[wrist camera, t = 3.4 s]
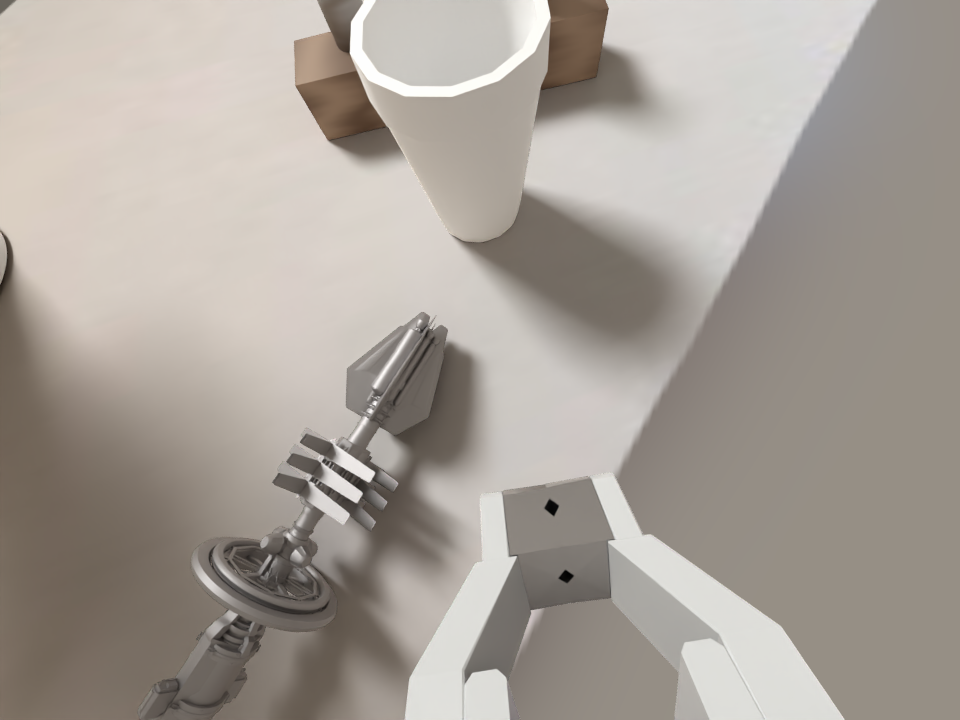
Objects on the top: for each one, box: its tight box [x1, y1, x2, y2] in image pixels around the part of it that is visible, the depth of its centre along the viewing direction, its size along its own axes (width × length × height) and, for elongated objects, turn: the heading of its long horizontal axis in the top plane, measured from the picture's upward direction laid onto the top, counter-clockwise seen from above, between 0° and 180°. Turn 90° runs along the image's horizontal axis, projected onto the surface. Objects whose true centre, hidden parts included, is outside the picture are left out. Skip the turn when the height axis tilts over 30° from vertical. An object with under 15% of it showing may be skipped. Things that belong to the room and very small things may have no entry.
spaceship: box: [138, 312, 448, 720], centre depth 20 cm, size 8×35×8 cm
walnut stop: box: [294, 0, 609, 140], centre depth 28 cm, size 24×5×11 cm, turn 100°
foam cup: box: [350, 0, 551, 242], centre depth 24 cm, size 10×9×13 cm
